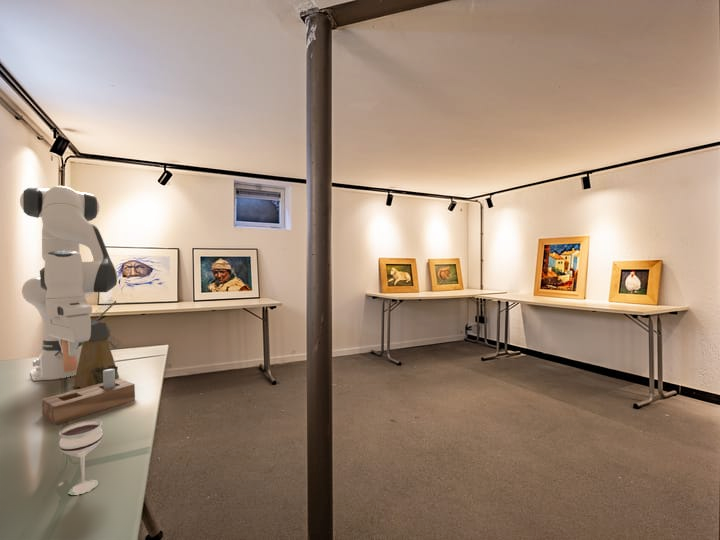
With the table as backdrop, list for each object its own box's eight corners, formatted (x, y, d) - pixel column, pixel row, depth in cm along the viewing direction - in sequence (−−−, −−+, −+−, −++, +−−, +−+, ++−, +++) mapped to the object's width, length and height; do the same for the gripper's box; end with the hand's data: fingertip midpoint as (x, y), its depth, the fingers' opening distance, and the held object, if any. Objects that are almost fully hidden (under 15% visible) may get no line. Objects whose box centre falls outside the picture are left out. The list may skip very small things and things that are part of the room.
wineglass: (106, 473, 74) (104, 416, 74) (102, 491, 68) (100, 430, 68) (64, 484, 71) (62, 425, 70) (57, 504, 65) (54, 440, 64)
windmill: (120, 370, 143) (117, 296, 141) (138, 376, 135) (135, 298, 134) (52, 387, 125) (49, 302, 123) (69, 395, 117) (65, 304, 116)
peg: (62, 370, 102) (59, 336, 101) (74, 367, 104) (72, 334, 104) (66, 372, 100) (64, 337, 100) (79, 369, 103) (76, 335, 102)
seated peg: (102, 402, 111) (101, 370, 110) (113, 399, 113) (112, 368, 113) (106, 404, 109) (105, 372, 109) (117, 401, 112) (116, 369, 111)
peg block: (42, 416, 101) (41, 399, 101) (120, 393, 118) (119, 378, 118) (55, 424, 96) (54, 406, 96) (135, 399, 113) (134, 384, 112)
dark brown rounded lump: (89, 397, 115) (88, 373, 114) (93, 390, 121) (92, 366, 121) (116, 393, 118) (115, 369, 118) (119, 386, 125) (119, 363, 124)
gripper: (39, 306, 105) (42, 352, 105) (67, 310, 94) (69, 362, 94) (65, 303, 110) (68, 347, 110) (94, 307, 99) (97, 356, 99)
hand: (69, 354), depth 102 cm, fingers closed on peg, 3 cm apart
